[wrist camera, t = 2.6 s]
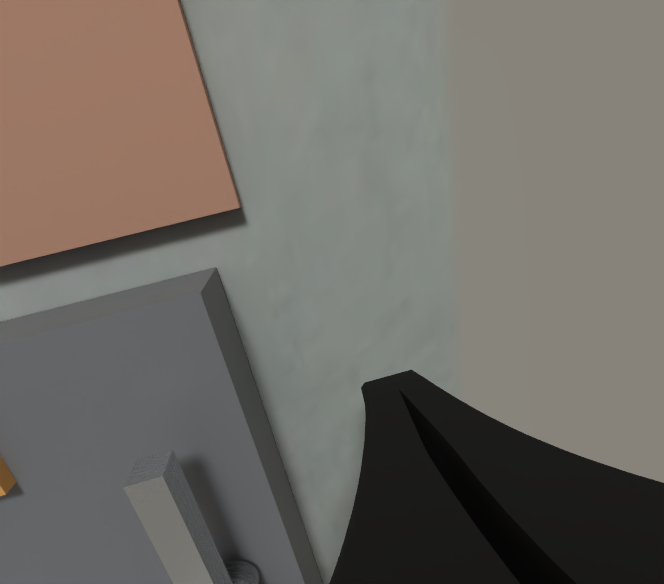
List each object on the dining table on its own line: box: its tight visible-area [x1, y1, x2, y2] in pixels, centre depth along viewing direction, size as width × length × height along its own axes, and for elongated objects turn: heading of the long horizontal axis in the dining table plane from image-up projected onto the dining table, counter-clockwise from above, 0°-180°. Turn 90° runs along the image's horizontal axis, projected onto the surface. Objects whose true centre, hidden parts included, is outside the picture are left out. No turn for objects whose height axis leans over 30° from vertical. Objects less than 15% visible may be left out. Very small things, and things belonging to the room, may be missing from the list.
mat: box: [0, 0, 241, 266], centre depth 9 cm, size 7×7×1 cm
